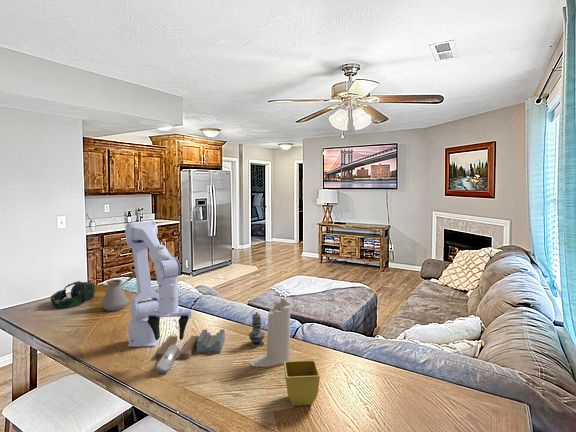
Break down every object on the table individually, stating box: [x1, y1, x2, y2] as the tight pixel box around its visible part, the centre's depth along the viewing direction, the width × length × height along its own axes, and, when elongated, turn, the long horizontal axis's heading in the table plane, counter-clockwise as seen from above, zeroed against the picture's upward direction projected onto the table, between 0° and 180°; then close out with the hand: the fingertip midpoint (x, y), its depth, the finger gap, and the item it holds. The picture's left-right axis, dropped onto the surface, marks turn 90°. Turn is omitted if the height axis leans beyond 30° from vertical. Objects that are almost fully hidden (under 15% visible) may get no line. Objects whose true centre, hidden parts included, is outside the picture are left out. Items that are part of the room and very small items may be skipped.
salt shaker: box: [248, 311, 266, 348], centre depth 131 cm, size 6×6×12 cm
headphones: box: [50, 280, 96, 310], centre depth 177 cm, size 13×13×20 cm
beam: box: [155, 335, 200, 360], centre depth 127 cm, size 11×14×2 cm
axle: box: [155, 344, 181, 375], centre depth 116 cm, size 12×4×4 cm, turn 2°
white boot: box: [247, 297, 291, 368], centre depth 118 cm, size 7×14×20 cm, turn 113°
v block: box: [196, 328, 226, 354], centre depth 129 cm, size 8×10×4 cm
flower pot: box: [283, 359, 321, 407], centre depth 97 cm, size 9×9×9 cm
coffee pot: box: [100, 273, 136, 312], centre depth 173 cm, size 21×12×15 cm, turn 152°
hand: (169, 338), depth 116 cm, fingers open, 7 cm apart
